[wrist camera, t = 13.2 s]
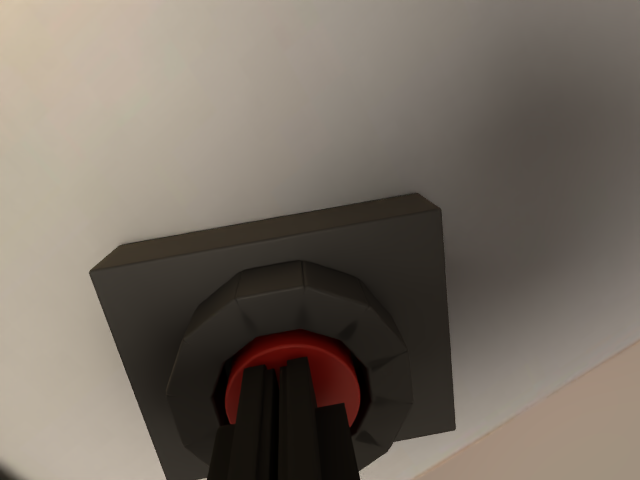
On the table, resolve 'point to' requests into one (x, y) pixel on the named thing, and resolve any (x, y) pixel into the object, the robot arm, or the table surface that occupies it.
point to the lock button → (324, 361)
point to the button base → (285, 319)
